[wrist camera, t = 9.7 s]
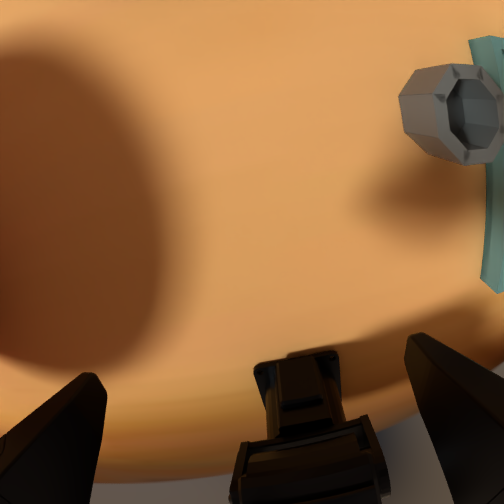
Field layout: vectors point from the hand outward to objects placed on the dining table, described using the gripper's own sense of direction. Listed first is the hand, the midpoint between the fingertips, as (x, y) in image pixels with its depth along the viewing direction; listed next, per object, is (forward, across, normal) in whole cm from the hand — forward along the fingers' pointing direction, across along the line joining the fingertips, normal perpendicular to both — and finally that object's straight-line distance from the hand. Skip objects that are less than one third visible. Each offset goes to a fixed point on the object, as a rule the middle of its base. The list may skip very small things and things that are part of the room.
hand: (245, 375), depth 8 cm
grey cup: (+12, -13, -6) cm, 18 cm away
